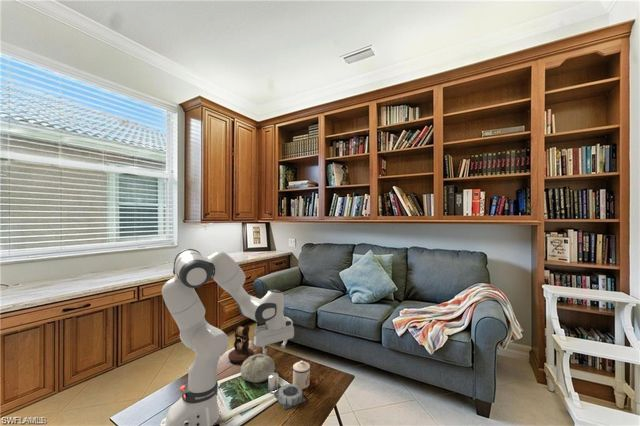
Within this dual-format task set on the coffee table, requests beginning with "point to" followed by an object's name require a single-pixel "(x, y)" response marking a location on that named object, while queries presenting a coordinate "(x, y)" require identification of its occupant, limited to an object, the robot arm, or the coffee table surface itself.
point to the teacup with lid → (301, 374)
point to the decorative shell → (257, 368)
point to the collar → (290, 396)
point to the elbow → (273, 381)
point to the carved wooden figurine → (241, 345)
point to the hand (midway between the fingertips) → (274, 350)
